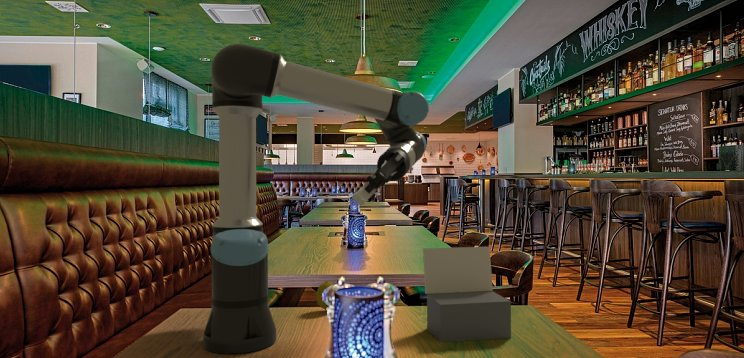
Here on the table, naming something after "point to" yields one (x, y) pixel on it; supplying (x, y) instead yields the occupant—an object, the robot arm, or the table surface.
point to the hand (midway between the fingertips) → (358, 199)
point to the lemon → (319, 293)
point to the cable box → (468, 316)
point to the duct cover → (457, 269)
